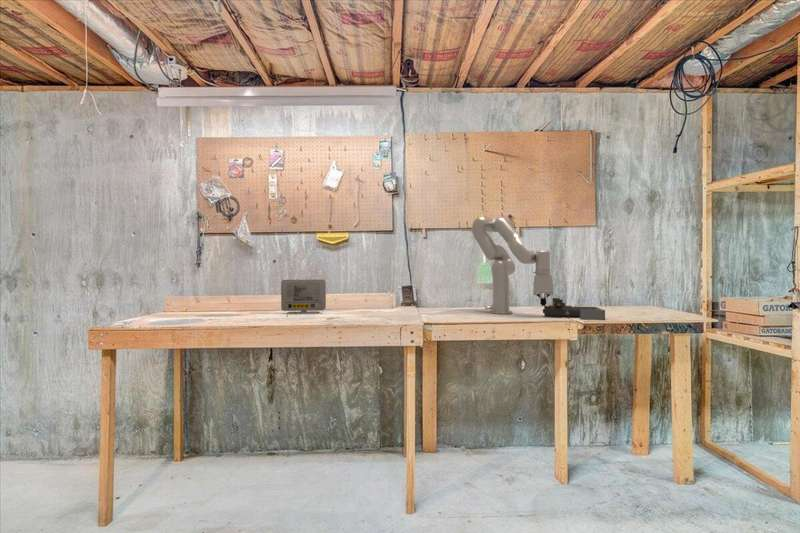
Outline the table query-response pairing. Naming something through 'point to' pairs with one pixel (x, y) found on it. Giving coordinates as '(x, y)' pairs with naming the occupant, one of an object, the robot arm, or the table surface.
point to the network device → (303, 296)
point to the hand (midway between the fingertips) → (543, 305)
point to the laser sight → (562, 309)
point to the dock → (592, 313)
